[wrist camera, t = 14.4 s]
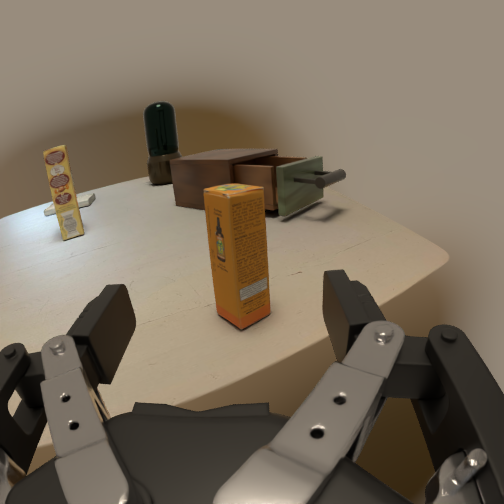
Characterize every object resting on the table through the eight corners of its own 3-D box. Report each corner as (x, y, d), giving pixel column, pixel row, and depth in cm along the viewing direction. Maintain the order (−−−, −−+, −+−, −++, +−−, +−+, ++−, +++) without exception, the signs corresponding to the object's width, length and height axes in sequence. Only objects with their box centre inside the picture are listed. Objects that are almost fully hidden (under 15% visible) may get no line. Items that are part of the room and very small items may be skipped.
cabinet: (280, 195, 57) (277, 149, 54) (233, 215, 49) (228, 159, 45) (222, 189, 66) (218, 149, 63) (175, 205, 58) (169, 160, 54)
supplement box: (275, 312, 25) (267, 184, 21) (240, 332, 23) (224, 196, 19) (248, 297, 27) (237, 179, 23) (215, 313, 25) (196, 190, 21)
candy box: (85, 234, 47) (66, 143, 41) (62, 241, 45) (42, 150, 39) (82, 222, 54) (67, 144, 48) (62, 229, 52) (46, 150, 46)
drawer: (351, 201, 48) (351, 158, 45) (318, 222, 40) (316, 169, 38) (259, 189, 59) (256, 153, 57) (216, 205, 51) (211, 164, 49)
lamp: (167, 186, 76) (156, 99, 67) (143, 186, 81) (132, 106, 72) (192, 177, 84) (183, 97, 75) (167, 177, 88) (158, 103, 79)
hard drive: (94, 192, 74) (53, 202, 71) (88, 199, 67) (43, 210, 64) (95, 198, 75) (54, 208, 72) (89, 206, 67) (44, 216, 65)
